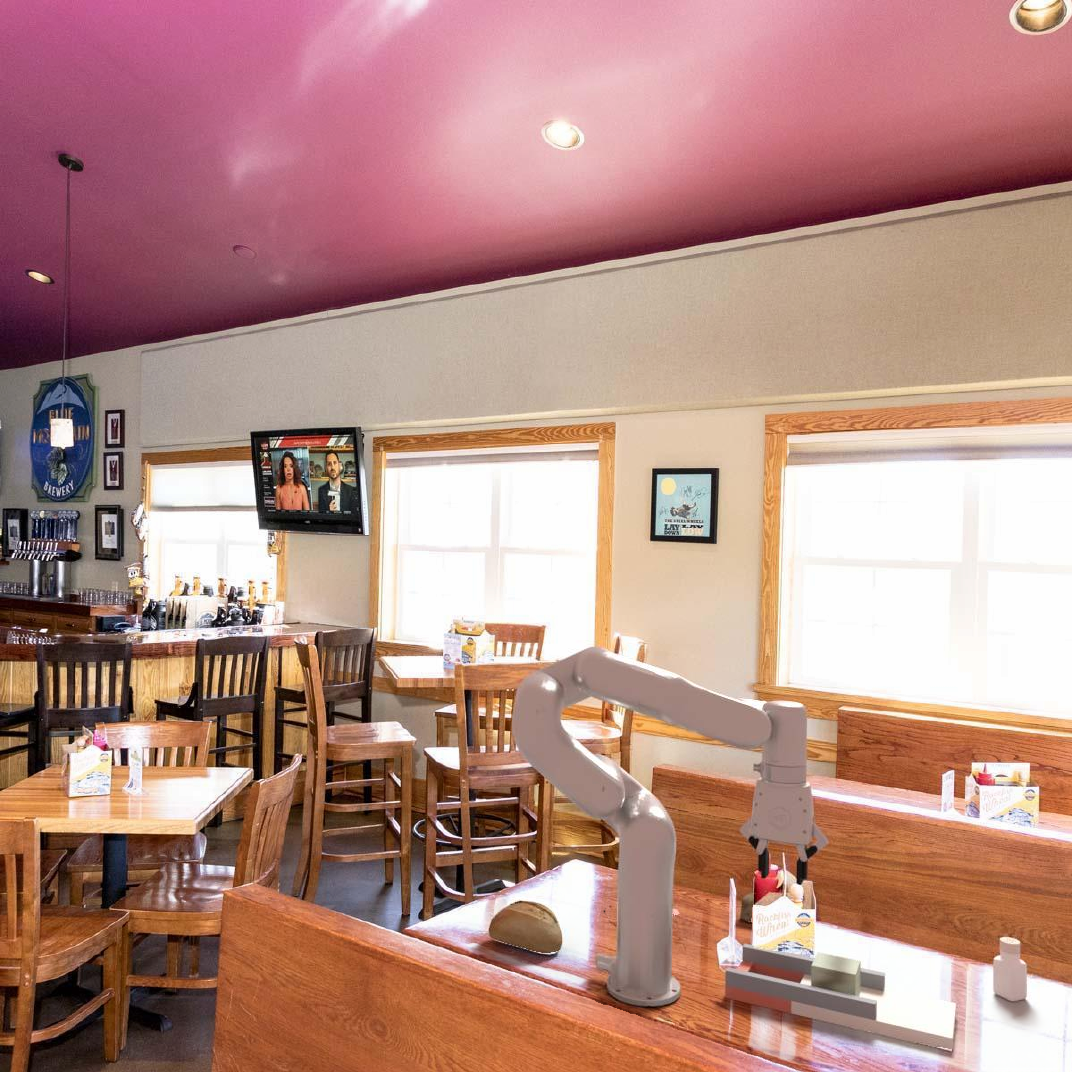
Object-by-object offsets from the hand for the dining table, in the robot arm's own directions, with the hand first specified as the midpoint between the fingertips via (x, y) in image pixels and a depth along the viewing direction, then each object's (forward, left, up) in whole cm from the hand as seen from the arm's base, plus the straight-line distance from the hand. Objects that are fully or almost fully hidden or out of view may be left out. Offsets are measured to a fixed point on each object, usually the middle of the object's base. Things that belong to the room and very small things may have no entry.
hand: (782, 878), depth 156 cm
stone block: (-9, +31, -20) cm, 38 cm away
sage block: (+9, 0, -17) cm, 20 cm away
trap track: (+9, 0, -19) cm, 22 cm away
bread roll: (-47, -5, -20) cm, 51 cm away
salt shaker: (+35, +19, -20) cm, 44 cm away
